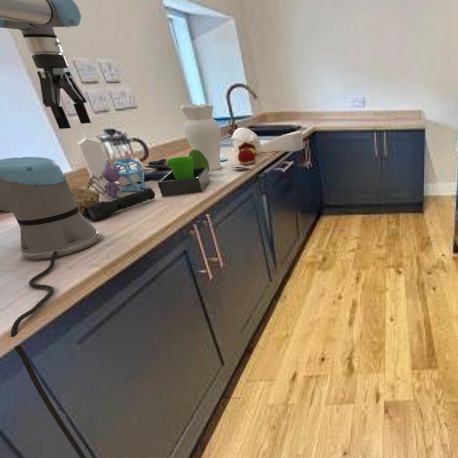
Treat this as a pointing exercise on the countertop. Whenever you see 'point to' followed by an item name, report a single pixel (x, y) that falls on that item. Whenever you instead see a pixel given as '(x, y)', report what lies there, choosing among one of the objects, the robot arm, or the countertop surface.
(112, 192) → the figurine
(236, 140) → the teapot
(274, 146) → the shoe sole
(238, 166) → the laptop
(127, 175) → the chair
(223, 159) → the toy
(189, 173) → the cup
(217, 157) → the vase
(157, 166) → the race car
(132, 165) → the ink box
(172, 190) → the dark grey open box
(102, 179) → the maze
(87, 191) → the sponge
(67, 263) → the countertop surface
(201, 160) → the fruit
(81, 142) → the milk
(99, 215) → the flashlight
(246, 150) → the figurine
